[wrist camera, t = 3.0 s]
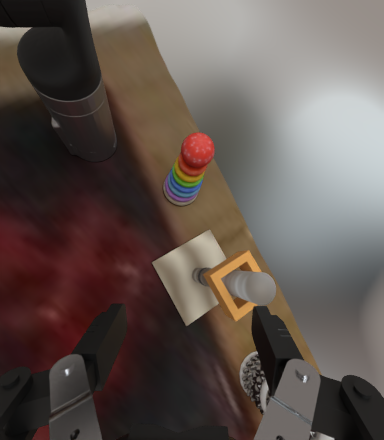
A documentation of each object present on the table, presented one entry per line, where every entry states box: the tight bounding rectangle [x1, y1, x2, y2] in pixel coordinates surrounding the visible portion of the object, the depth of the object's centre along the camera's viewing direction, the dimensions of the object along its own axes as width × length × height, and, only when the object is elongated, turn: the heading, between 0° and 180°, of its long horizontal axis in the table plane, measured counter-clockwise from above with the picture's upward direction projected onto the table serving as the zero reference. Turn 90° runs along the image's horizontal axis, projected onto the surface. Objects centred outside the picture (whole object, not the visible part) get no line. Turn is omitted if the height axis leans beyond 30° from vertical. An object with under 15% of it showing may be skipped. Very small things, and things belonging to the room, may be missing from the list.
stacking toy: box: [163, 133, 214, 206], centre depth 38 cm, size 8×8×19 cm
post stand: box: [152, 229, 276, 326], centre depth 32 cm, size 14×14×26 cm
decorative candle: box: [239, 351, 335, 440], centre depth 31 cm, size 9×9×25 cm
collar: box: [203, 250, 261, 321], centre depth 25 cm, size 6×6×3 cm
